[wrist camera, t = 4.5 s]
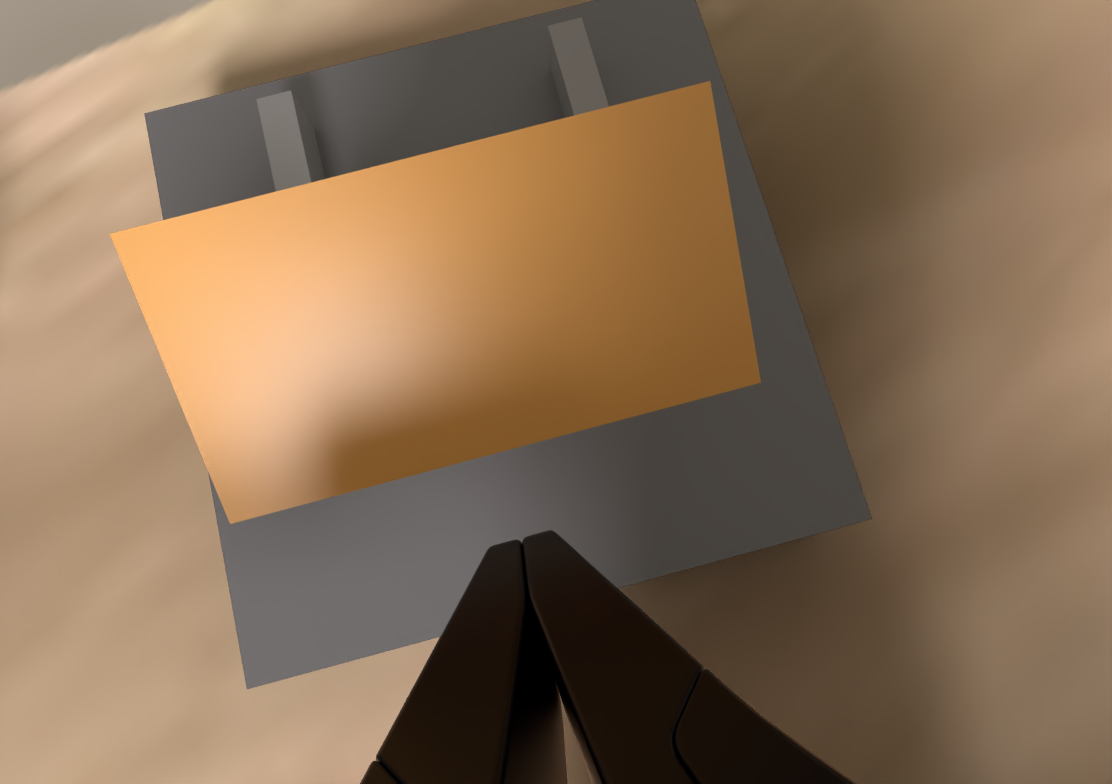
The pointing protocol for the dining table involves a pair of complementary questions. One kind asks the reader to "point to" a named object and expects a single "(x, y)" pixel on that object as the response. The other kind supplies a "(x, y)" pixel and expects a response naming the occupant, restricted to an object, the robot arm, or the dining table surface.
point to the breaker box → (543, 467)
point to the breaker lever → (450, 302)
